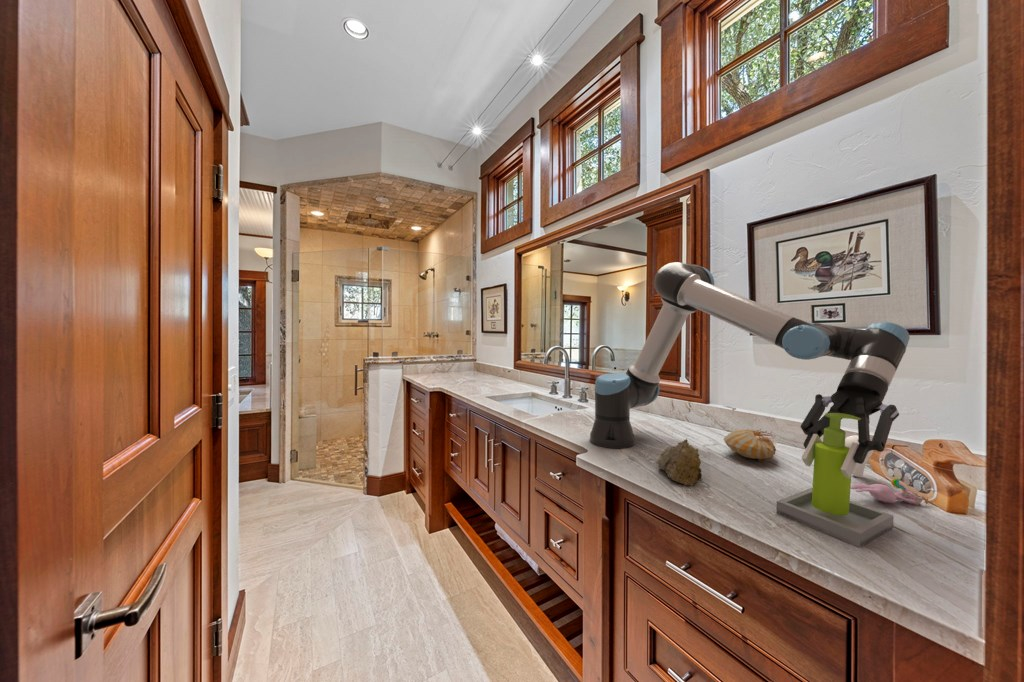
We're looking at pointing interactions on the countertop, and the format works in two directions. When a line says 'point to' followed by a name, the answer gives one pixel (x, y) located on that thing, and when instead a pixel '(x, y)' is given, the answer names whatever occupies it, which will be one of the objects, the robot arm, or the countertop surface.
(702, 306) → the robot arm
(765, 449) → the nautilus
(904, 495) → the rabbit figure
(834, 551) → the countertop surface
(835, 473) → the soap dispenser
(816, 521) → the holder tray
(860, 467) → the lightbulb
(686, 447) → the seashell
